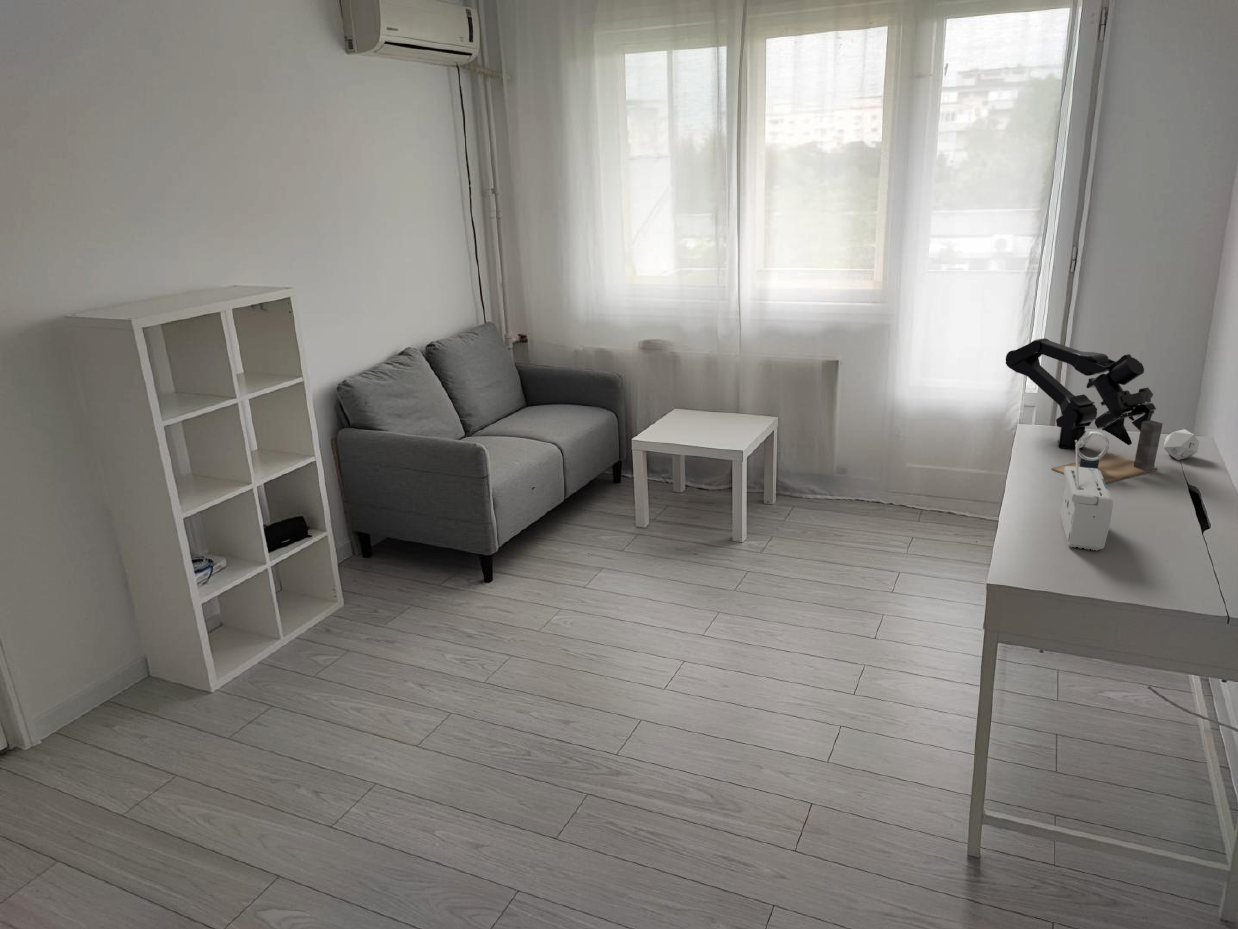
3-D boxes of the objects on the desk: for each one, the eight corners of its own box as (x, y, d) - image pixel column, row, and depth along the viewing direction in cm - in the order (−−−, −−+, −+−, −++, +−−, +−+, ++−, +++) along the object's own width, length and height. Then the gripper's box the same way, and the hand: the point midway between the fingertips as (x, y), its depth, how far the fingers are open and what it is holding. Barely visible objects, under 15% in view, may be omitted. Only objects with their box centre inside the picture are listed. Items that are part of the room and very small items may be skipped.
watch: (1072, 464, 249) (1079, 427, 245) (1105, 469, 245) (1111, 431, 241) (1070, 471, 245) (1076, 432, 241) (1103, 475, 241) (1110, 437, 237)
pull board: (1051, 469, 247) (1058, 423, 243) (1110, 455, 258) (1118, 410, 253) (1097, 485, 235) (1105, 437, 231) (1157, 469, 246) (1166, 422, 241)
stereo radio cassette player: (1105, 554, 197) (1121, 469, 190) (1064, 549, 199) (1078, 465, 193) (1093, 518, 215) (1107, 440, 208) (1055, 514, 218) (1068, 437, 211)
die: (1157, 460, 255) (1183, 440, 247) (1154, 438, 260) (1178, 418, 253) (1183, 470, 255) (1209, 450, 248) (1179, 448, 261) (1204, 428, 253)
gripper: (1112, 382, 240) (1143, 433, 235) (1156, 374, 248) (1187, 422, 243) (1081, 403, 250) (1110, 452, 244) (1124, 394, 257) (1153, 441, 252)
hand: (1141, 441), depth 246 cm, fingers open, 9 cm apart
